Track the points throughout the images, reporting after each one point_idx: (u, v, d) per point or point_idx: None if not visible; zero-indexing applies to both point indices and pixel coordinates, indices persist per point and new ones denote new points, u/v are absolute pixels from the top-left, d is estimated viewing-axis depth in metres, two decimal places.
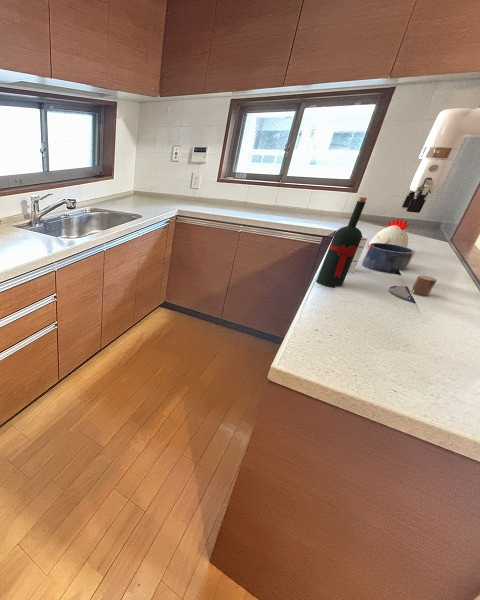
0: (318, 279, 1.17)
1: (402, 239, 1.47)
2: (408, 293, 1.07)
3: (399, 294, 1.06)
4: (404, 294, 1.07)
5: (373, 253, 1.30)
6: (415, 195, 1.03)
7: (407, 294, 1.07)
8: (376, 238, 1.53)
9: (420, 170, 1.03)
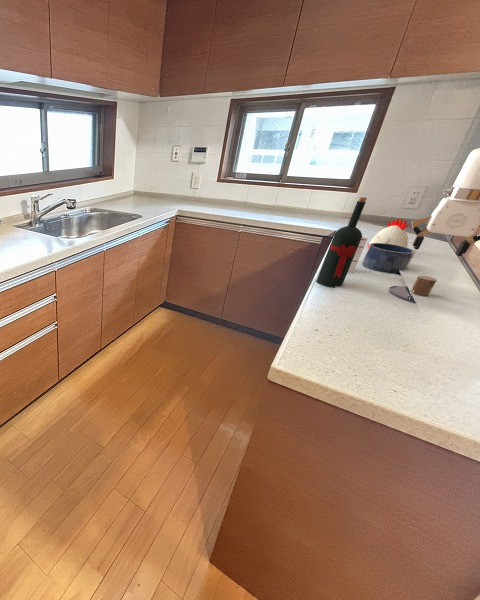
0: (318, 279, 1.17)
1: (402, 239, 1.47)
2: (408, 293, 1.07)
3: (399, 294, 1.06)
4: (404, 294, 1.07)
5: (373, 253, 1.30)
6: None
7: (407, 294, 1.07)
8: (376, 238, 1.53)
9: None
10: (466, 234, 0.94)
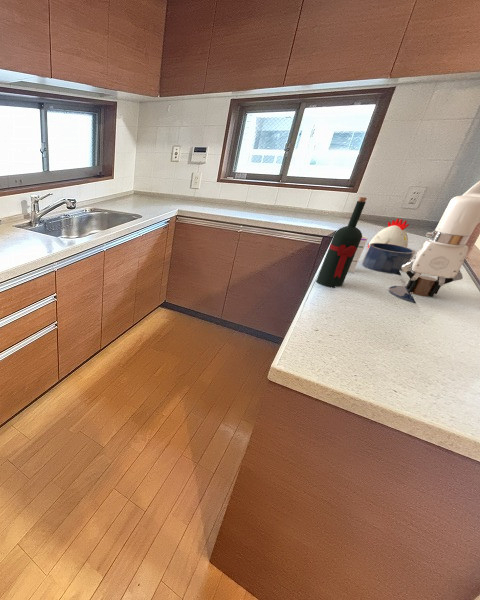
0: (318, 279, 1.17)
1: (402, 239, 1.47)
2: (408, 293, 1.07)
3: (399, 294, 1.06)
4: (404, 294, 1.07)
5: (373, 253, 1.30)
6: None
7: (407, 294, 1.07)
8: (376, 238, 1.53)
9: None
10: (448, 275, 0.99)
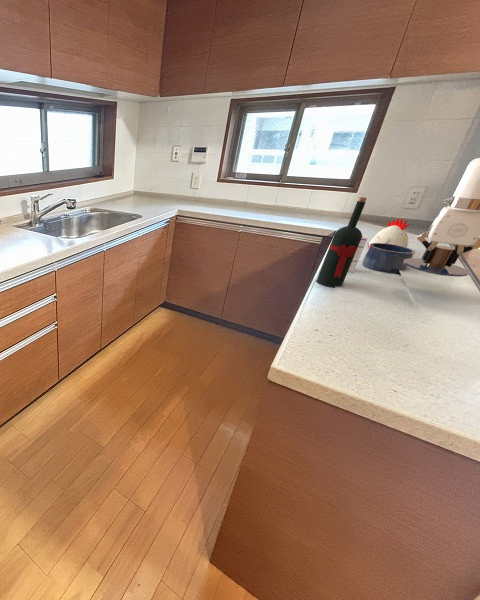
0: (318, 279, 1.17)
1: (402, 239, 1.47)
2: (424, 264, 1.03)
3: (415, 265, 1.02)
4: (420, 265, 1.02)
5: (373, 253, 1.30)
6: None
7: (423, 265, 1.02)
8: (376, 238, 1.53)
9: None
10: (468, 243, 0.94)
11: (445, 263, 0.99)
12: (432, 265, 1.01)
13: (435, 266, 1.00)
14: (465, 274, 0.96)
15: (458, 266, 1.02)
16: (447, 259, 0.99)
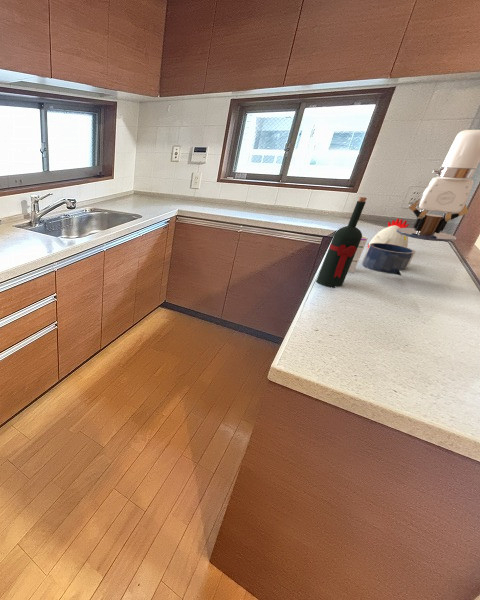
0: (318, 279, 1.17)
1: (402, 239, 1.47)
2: (415, 232, 1.11)
3: (407, 232, 1.10)
4: (412, 232, 1.10)
5: (373, 253, 1.30)
6: None
7: (414, 233, 1.10)
8: (376, 238, 1.53)
9: None
10: (455, 210, 1.03)
11: (434, 230, 1.07)
12: (422, 232, 1.09)
13: (425, 233, 1.09)
14: (452, 239, 1.04)
15: None
16: (436, 226, 1.07)
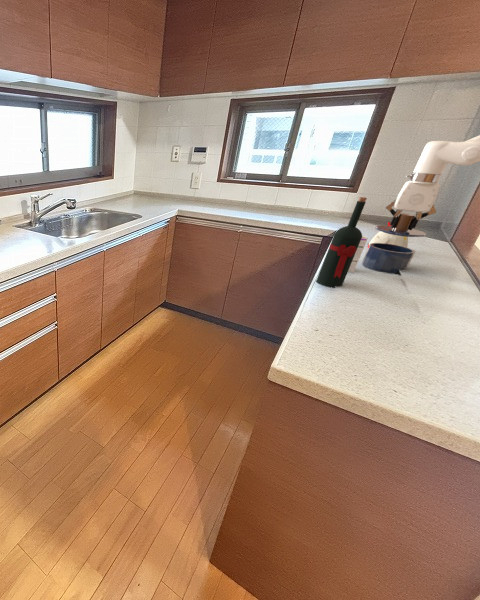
0: (318, 279, 1.17)
1: (402, 239, 1.47)
2: (391, 229, 1.27)
3: (384, 229, 1.26)
4: (388, 229, 1.26)
5: (373, 253, 1.30)
6: None
7: (390, 229, 1.26)
8: (376, 238, 1.53)
9: None
10: (424, 210, 1.18)
11: (407, 227, 1.23)
12: (397, 229, 1.25)
13: (400, 230, 1.24)
14: (422, 235, 1.20)
15: None
16: (409, 224, 1.23)
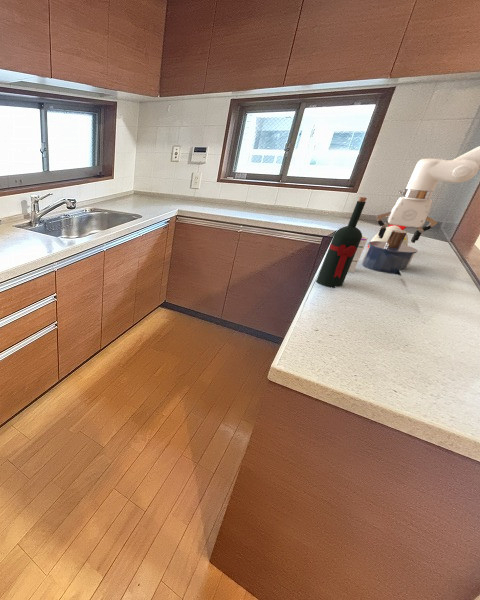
0: (318, 279, 1.17)
1: None
2: (384, 245, 1.30)
3: (377, 246, 1.29)
4: (381, 245, 1.29)
5: (373, 253, 1.30)
6: None
7: (383, 246, 1.29)
8: (376, 238, 1.53)
9: None
10: (417, 225, 1.21)
11: (399, 244, 1.26)
12: (390, 245, 1.28)
13: (392, 246, 1.27)
14: (414, 252, 1.23)
15: (410, 247, 1.29)
16: (401, 240, 1.26)
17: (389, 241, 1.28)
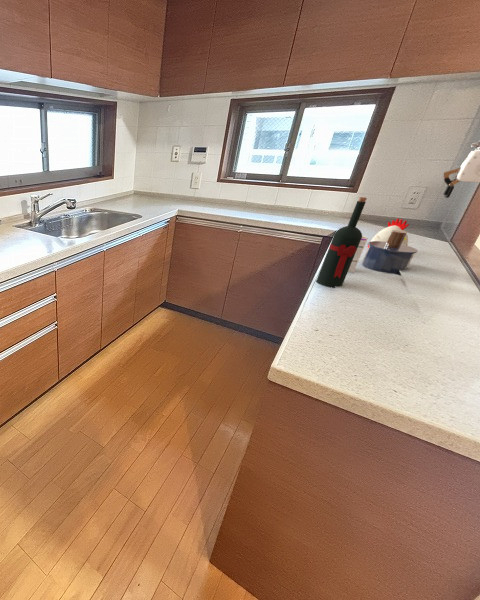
0: (318, 279, 1.17)
1: None
2: (384, 245, 1.30)
3: (377, 246, 1.29)
4: (381, 245, 1.29)
5: (373, 253, 1.30)
6: None
7: (383, 246, 1.29)
8: (376, 238, 1.53)
9: None
10: None
11: (399, 244, 1.26)
12: (390, 245, 1.28)
13: (392, 246, 1.27)
14: (414, 252, 1.23)
15: (410, 247, 1.29)
16: (401, 240, 1.26)
17: (389, 241, 1.28)
